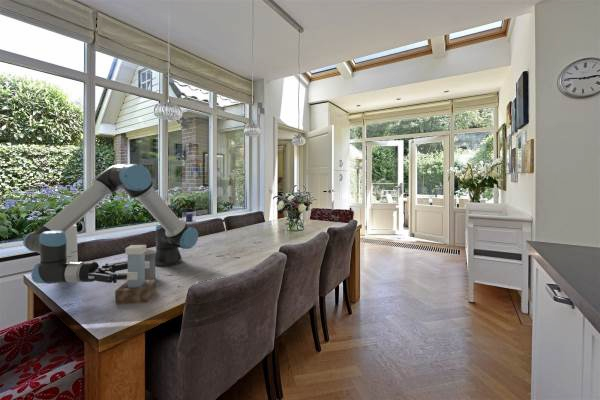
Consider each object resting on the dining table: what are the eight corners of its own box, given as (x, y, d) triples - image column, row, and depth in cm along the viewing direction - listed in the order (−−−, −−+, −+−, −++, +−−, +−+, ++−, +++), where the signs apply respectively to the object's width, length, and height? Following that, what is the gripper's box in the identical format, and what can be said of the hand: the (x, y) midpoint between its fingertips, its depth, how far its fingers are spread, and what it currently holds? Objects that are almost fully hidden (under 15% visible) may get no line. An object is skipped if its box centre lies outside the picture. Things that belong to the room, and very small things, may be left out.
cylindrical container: (81, 276, 138) (80, 225, 136) (65, 281, 131) (63, 227, 130) (71, 274, 140) (70, 224, 139) (55, 278, 134) (53, 226, 132)
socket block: (115, 306, 107) (115, 290, 106) (127, 294, 118) (127, 280, 117) (147, 304, 109) (147, 289, 109) (156, 293, 120) (155, 279, 119)
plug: (126, 300, 110) (125, 248, 109) (131, 294, 115) (131, 245, 114) (142, 299, 111) (141, 248, 110) (146, 293, 117) (146, 244, 115)
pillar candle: (133, 278, 137) (133, 247, 136) (156, 275, 141) (155, 246, 140) (130, 285, 128) (129, 252, 127) (154, 282, 132) (154, 251, 131)
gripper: (100, 271, 121) (153, 269, 125) (63, 294, 97) (131, 291, 101) (99, 253, 121) (153, 252, 125) (62, 272, 96) (130, 270, 100)
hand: (143, 270), depth 113 cm, fingers open, 13 cm apart
